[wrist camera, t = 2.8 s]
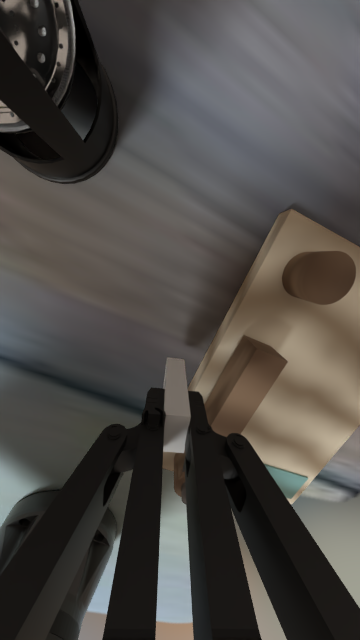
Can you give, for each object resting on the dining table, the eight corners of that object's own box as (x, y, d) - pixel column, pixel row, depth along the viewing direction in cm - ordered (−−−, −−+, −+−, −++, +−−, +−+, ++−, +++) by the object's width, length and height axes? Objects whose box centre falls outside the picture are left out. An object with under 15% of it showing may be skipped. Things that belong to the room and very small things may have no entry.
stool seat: (284, 487, 29) (306, 532, 24) (155, 450, 26) (151, 494, 21) (435, 300, 21) (511, 312, 17) (279, 213, 18) (317, 198, 13)
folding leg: (194, 471, 24) (198, 512, 20) (169, 464, 23) (169, 505, 20) (271, 346, 19) (296, 368, 16) (242, 334, 19) (261, 354, 15)
